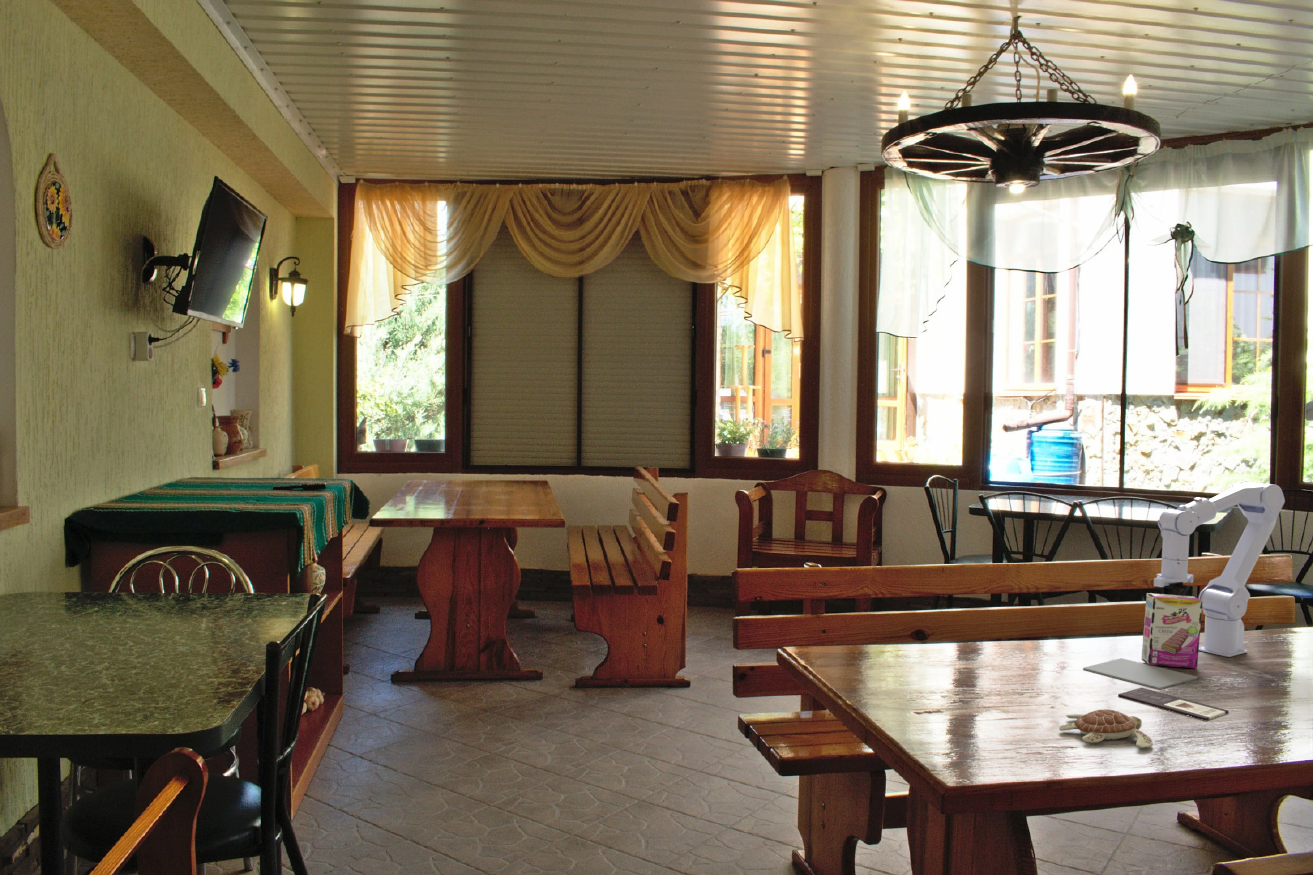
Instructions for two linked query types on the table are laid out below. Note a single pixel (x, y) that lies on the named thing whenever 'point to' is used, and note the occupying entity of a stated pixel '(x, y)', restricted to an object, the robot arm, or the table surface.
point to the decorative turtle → (1108, 727)
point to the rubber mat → (1140, 673)
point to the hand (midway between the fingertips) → (1172, 613)
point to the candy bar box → (1171, 630)
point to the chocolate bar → (1173, 703)
